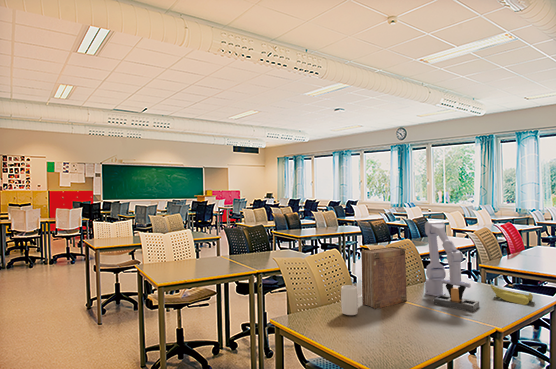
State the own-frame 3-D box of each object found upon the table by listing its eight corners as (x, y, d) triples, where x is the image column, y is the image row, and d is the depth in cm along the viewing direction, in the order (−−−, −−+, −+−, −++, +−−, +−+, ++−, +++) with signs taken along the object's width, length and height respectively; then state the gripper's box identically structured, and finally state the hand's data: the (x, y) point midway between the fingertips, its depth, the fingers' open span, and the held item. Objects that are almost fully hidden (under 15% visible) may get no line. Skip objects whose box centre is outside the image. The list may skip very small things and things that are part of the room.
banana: (533, 296, 203) (529, 292, 197) (531, 309, 201) (527, 305, 195) (494, 287, 217) (489, 283, 211) (491, 299, 215) (486, 295, 209)
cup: (358, 318, 182) (357, 289, 182) (341, 317, 183) (340, 289, 184) (358, 312, 190) (357, 285, 190) (341, 311, 192) (341, 284, 192)
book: (374, 309, 194) (372, 253, 195) (362, 305, 202) (360, 251, 203) (406, 301, 207) (405, 248, 208) (394, 297, 215) (392, 246, 216)
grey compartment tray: (434, 303, 201) (433, 298, 201) (440, 299, 208) (440, 294, 208) (473, 311, 187) (473, 305, 187) (479, 307, 194) (479, 301, 194)
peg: (451, 303, 198) (450, 288, 198) (453, 301, 201) (453, 287, 201) (459, 305, 195) (458, 290, 195) (461, 303, 198) (461, 288, 198)
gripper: (438, 273, 200) (439, 297, 200) (467, 276, 190) (468, 303, 190) (443, 270, 205) (444, 295, 205) (471, 274, 195) (472, 300, 195)
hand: (456, 298), depth 198 cm, fingers closed on peg, 4 cm apart
